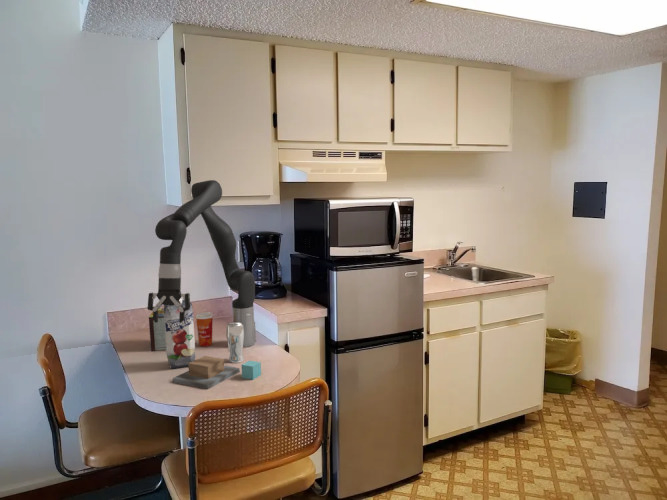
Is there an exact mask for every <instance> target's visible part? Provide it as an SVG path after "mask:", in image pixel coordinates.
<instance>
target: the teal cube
mask: <svg viewBox="0 0 667 500" xmlns="http://www.w3.org/2000/svg"><path fill="white" fill-rule="evenodd" d="M261 365H262V362H261V361H257V360H256V361H254V360H248V361H245V362H244V363H242V364H241V378H242V379H247V380H254V381H255V378H256V379H257V378H259V377H261V376H262V366H261ZM260 375H261V376H260ZM258 376H259V377H258Z"/></svg>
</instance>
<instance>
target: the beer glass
mask: <svg viewBox="0 0 667 500" xmlns="http://www.w3.org/2000/svg"><path fill="white" fill-rule="evenodd" d="M225 331H226V332H225V333H226V341H227V345H228V346H227V347H228V350H229V351H228V352H229V355H228V362H229V363H231V364H238V363H242V362H244V360H245V357H244V352H243V351H244V349H243V348H244V347H243V343H244V328H243V323H240V322H233V321H232V322H229V323H227V324H226V330H225Z"/></svg>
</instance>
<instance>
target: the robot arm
mask: <svg viewBox="0 0 667 500" xmlns="http://www.w3.org/2000/svg"><path fill="white" fill-rule="evenodd" d="M190 189H191V190H190V192H191V196H192V199H190V200H189V201H186V202H185V203H184V204H182V205H180V207H178V208H177V210H176V211H174V213H171V214H169V215H167V216H165V217H163V218H162V219H160V220H159V221H158V222H157V223H156V225H155V229H154V231H155V235H156V237H157V238H158V239H160V240H161V241H162V240H163V241H171V243H170V244H169V245H168V246H164V247H161V249H160V250H159V251H160V252H159V267H158V275H157V277H158V285H157V287H158V289H157V290H158V291H157V293H155V292H152V291H151V292H150V293H148V297H147V298H148V299H147V310H148V311H151V312H153V321H155V322H158V309H161V307H162V306H164V305H176V307H177V308H178V309H179V310H180V316H179V323H182V322H183V321H184V319H185V311H187V310H189V309H190V302H191V295H190V293H189V292H186V293H182V291H181V289H182V286H181V285H182V284H181V283H182V266H181V263H182V262H181V260H182V259H181V257H182V256H181V255H182V254H181V253H182V249H183V246H184V242H185V240H186V236H187V232H188V231H187V228H188V227H189V226H191V224H192V223H193V222H194V221H195V220H196V219H197V218H198V217H199V216H200V215H201V217H202V219H203V221H204V224H205V226H206V228H207V231H208V234H209V236H210V238H211V241H212V243H213V246H214V249H215V251H216V253H217V256H218V259H219V262H220V263H221V266H222V268H223V273H224V276H225V279H226V283H227V285H228V287H229V288H230V289H231V290H232V291H236V292H237V298H235V299H233V300H232V302H231V309H232V323H233V322H240V323H243V328H244V343H243V348H249V347H252V346H253V345H255V344H256V342H257V335H256V334H257V331H256V321H255V315H254V314H255V313H254V301H255V299H256V281H255V276H254V274H253V273H252V272H251V271H249V270H243V269H242V270H241V269H240V267H239V265H238V262H237V259H236V253H237V240H236V237H235V235H234V232H233V229H232V228H231V226H230V224H228V223H227V222H226V221H225V220H223V219H222V218H221V217H220V216H219V215H218V214H217V213H216V212H215V211H214V210H213V207H212V206H213V205H215V204H216V203H217V202H219V201H221V199H222V197H223V188H222V186H221V184H220V183H219V182H218V181H217V180H214V179H213V180H211V179H210V180H204V181H200V182H195V183H193V184H192V185H191V188H190ZM156 298H157V299H158V302H157V303H156V304H155V306H154V299H156ZM179 299H182V300H185V308H184V307H183V306H182V304H181V302H180V301H179ZM176 303H177V304H176Z"/></svg>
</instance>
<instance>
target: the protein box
mask: <svg viewBox="0 0 667 500" xmlns="http://www.w3.org/2000/svg"><path fill="white" fill-rule="evenodd" d="M148 328H149V340H150V341H149V342H150V352H163V351H164V352H165V351H166V338H165V322H164V307H163V308H161V307H160V308H159V309H158V322H155V321H153V311H151V314H150V315H149V316H148Z"/></svg>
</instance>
